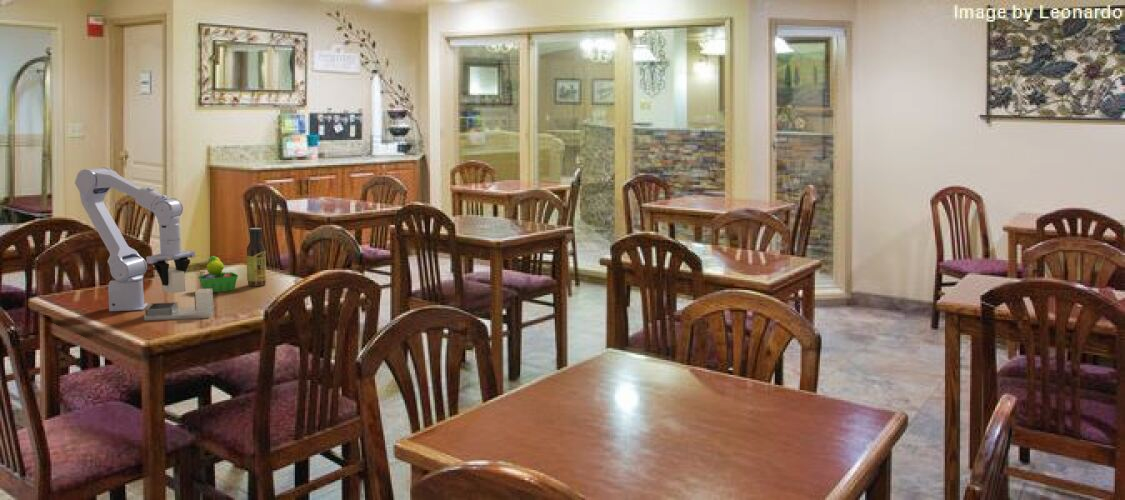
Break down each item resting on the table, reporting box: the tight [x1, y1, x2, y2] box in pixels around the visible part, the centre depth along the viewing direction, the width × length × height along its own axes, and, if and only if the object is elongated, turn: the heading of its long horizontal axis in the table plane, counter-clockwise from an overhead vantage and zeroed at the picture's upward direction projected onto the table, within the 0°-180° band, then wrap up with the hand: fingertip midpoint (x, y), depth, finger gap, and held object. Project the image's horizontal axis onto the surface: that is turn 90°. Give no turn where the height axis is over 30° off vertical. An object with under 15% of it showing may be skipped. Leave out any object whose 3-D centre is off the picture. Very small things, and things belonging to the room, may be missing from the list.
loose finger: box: [161, 268, 186, 294], centre depth 275 cm, size 4×6×6 cm
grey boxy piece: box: [143, 288, 216, 321], centre depth 271 cm, size 18×10×7 cm, turn 103°
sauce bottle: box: [246, 227, 267, 287], centre depth 314 cm, size 7×6×20 cm
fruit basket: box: [197, 255, 239, 293], centre depth 306 cm, size 11×9×11 cm
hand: (172, 283), depth 275 cm, fingers closed on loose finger, 4 cm apart
